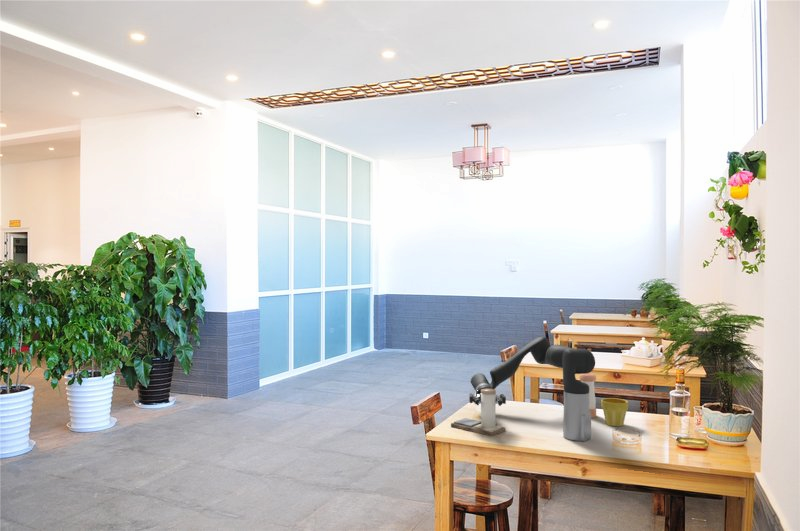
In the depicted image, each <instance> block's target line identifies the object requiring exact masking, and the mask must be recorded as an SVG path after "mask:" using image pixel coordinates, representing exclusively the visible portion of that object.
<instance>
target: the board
mask: <svg viewBox="0 0 800 531" xmlns="http://www.w3.org/2000/svg"><path fill="white" fill-rule="evenodd" d="M450 427H452V428H454V429H455V428H456V429H460V430H465V431H469V432H473V433H477V434H482V435H486V436H491V437H493V436H495V435H497V434H500V433H502V432H505V431H506V427H505V426H503V425H499V424H496V426H495V427H494V428H484V427H482V426H481V420H480V421H479V420H476V419H471V418H467V417H463V418H460V419H457V420H456V421H453V422H451V423H450Z"/></svg>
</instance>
